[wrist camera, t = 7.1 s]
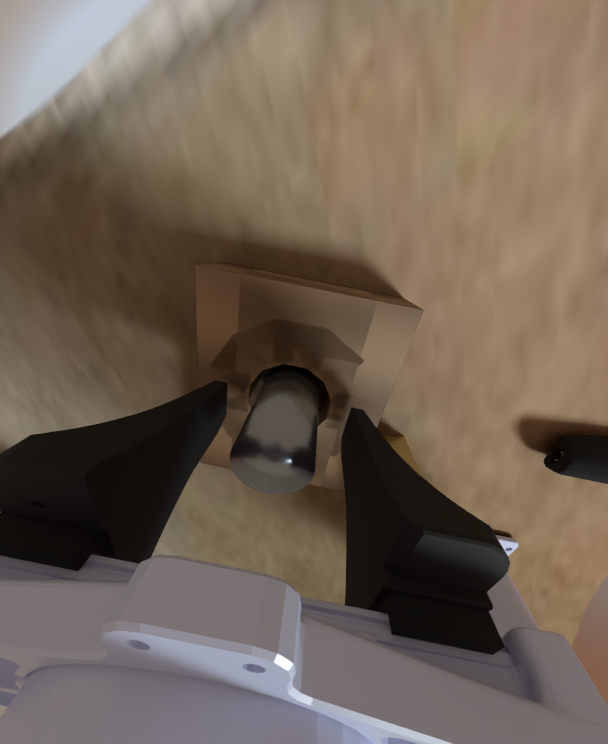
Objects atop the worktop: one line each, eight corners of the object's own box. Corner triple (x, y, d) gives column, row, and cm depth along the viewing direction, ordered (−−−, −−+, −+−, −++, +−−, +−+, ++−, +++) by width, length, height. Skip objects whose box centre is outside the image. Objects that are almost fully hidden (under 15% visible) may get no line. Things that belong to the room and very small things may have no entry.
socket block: (347, 457, 18) (350, 492, 16) (219, 432, 18) (200, 462, 16) (403, 298, 13) (423, 309, 10) (222, 262, 13) (194, 265, 10)
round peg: (313, 403, 16) (304, 501, 10) (266, 392, 16) (226, 483, 10) (326, 360, 14) (325, 443, 8) (274, 348, 14) (233, 421, 8)
